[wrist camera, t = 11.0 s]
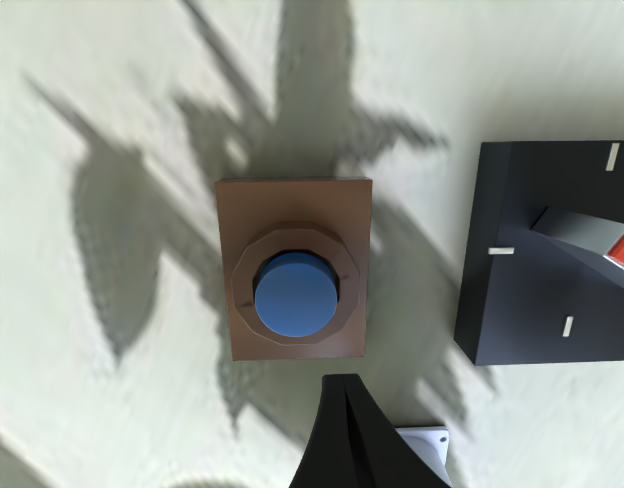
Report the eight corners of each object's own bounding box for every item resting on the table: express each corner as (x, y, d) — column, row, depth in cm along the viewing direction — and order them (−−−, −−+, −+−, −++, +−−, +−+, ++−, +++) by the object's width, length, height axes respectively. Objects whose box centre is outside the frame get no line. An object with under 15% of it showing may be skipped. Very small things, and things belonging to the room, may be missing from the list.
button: (333, 319, 19) (336, 336, 17) (260, 322, 19) (257, 338, 17) (334, 250, 18) (338, 261, 16) (256, 252, 18) (251, 263, 16)
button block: (359, 342, 23) (370, 375, 20) (237, 346, 23) (226, 380, 20) (366, 176, 20) (380, 183, 16) (221, 179, 19) (205, 185, 16)
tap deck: (600, 334, 24) (644, 361, 21) (448, 339, 23) (470, 367, 20) (658, 140, 20) (724, 139, 17) (475, 142, 19) (508, 141, 16)
